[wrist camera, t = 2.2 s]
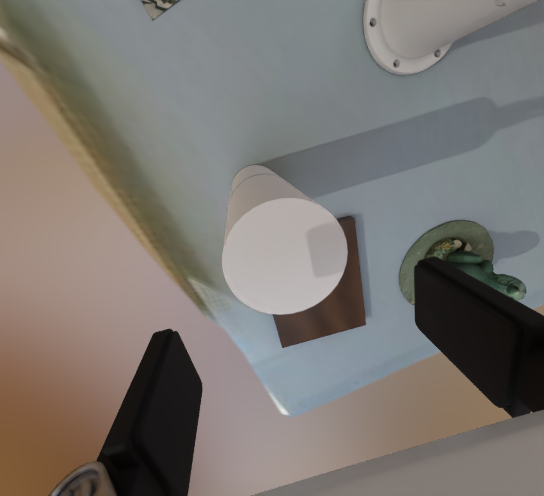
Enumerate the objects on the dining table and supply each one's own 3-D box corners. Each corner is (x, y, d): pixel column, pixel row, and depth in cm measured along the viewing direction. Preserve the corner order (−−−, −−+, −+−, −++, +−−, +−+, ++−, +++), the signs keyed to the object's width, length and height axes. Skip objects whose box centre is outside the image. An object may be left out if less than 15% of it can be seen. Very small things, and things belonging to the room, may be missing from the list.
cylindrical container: (290, 186, 38) (372, 248, 15) (260, 223, 39) (293, 332, 16) (251, 153, 36) (277, 168, 13) (221, 195, 37) (195, 275, 14)
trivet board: (350, 215, 41) (354, 218, 39) (362, 319, 49) (366, 324, 48) (252, 241, 40) (253, 244, 39) (281, 342, 48) (282, 348, 47)
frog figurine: (472, 308, 51) (534, 351, 41) (389, 310, 49) (431, 356, 38) (507, 221, 45) (592, 245, 34) (413, 219, 42) (472, 243, 32)
